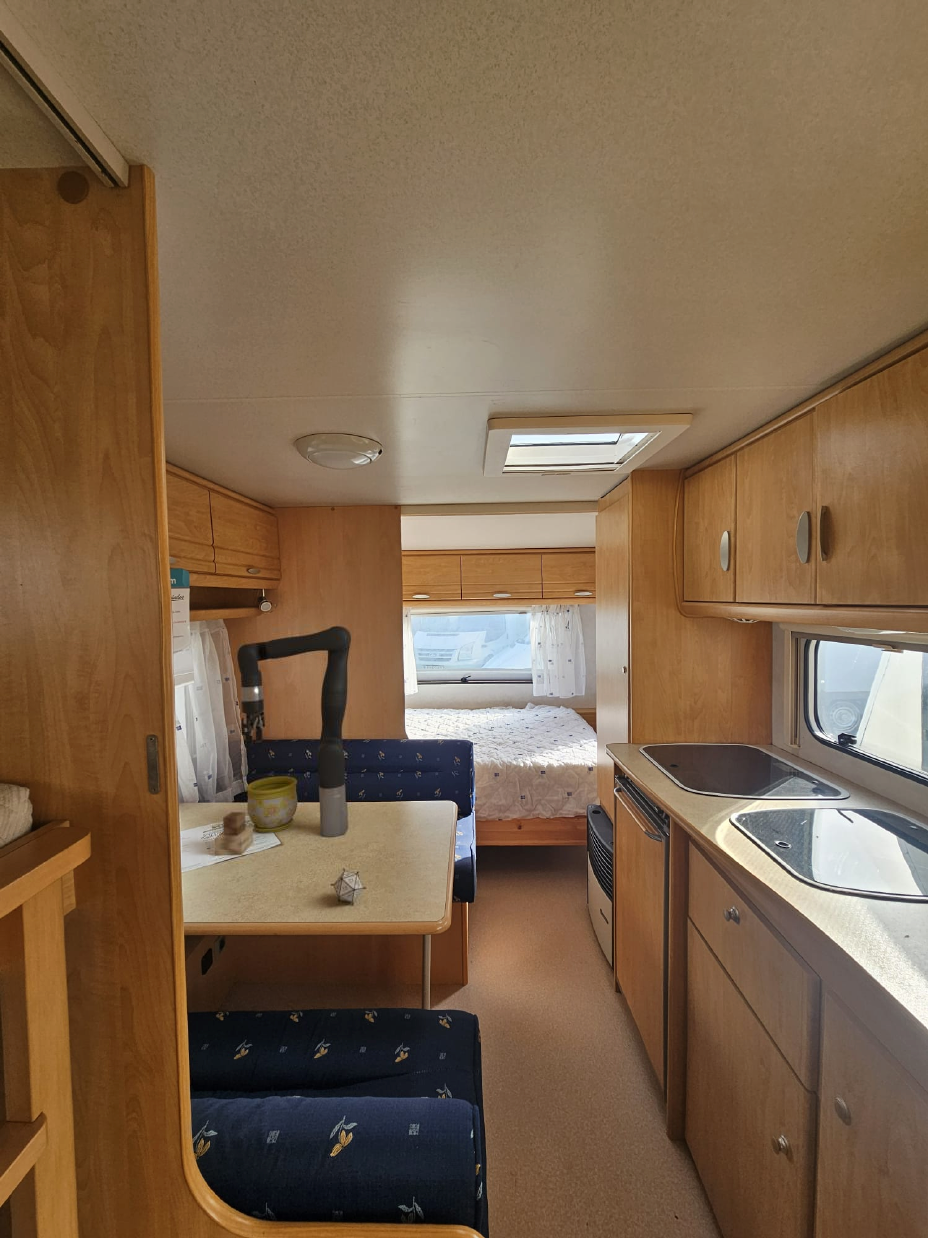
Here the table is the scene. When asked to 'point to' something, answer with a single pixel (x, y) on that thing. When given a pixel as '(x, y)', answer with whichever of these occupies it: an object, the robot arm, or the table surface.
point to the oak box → (233, 843)
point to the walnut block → (234, 823)
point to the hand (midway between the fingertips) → (254, 743)
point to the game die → (348, 886)
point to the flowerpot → (272, 803)
